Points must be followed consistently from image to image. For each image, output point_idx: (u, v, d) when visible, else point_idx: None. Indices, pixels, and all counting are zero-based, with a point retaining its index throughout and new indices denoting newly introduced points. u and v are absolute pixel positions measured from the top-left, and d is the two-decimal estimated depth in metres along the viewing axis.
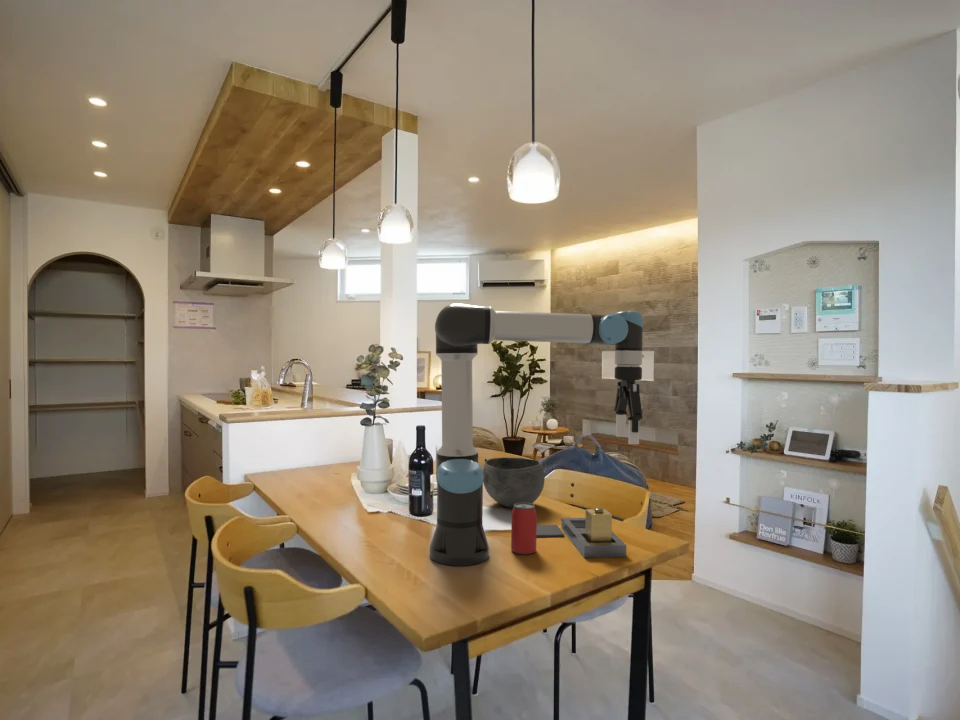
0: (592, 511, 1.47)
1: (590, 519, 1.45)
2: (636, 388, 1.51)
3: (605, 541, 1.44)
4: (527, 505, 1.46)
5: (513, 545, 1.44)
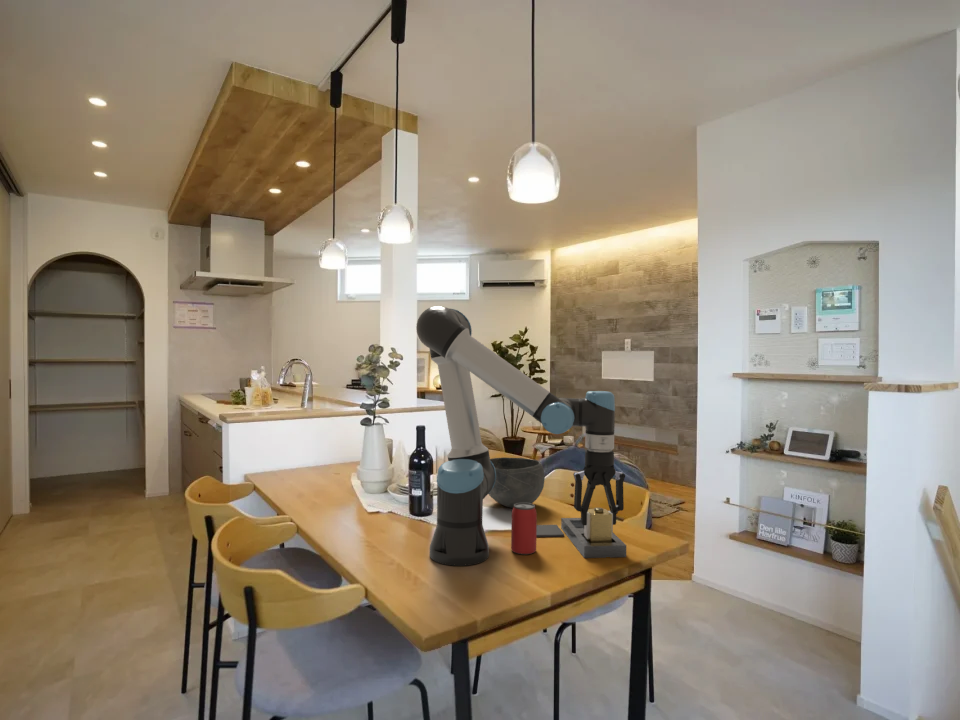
0: (592, 511, 1.47)
1: (590, 519, 1.45)
2: (575, 478, 1.46)
3: (605, 541, 1.44)
4: (527, 505, 1.46)
5: (513, 545, 1.44)
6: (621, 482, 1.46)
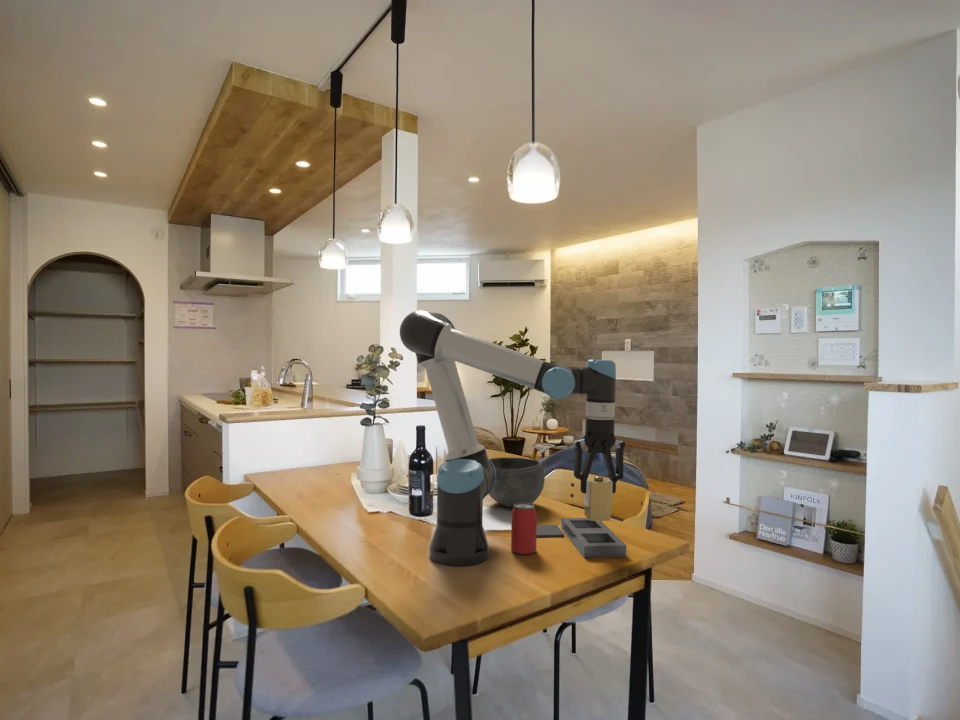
0: (592, 479, 1.47)
1: (590, 487, 1.45)
2: (576, 446, 1.46)
3: (605, 509, 1.44)
4: (527, 505, 1.46)
5: (513, 545, 1.44)
6: (621, 450, 1.46)
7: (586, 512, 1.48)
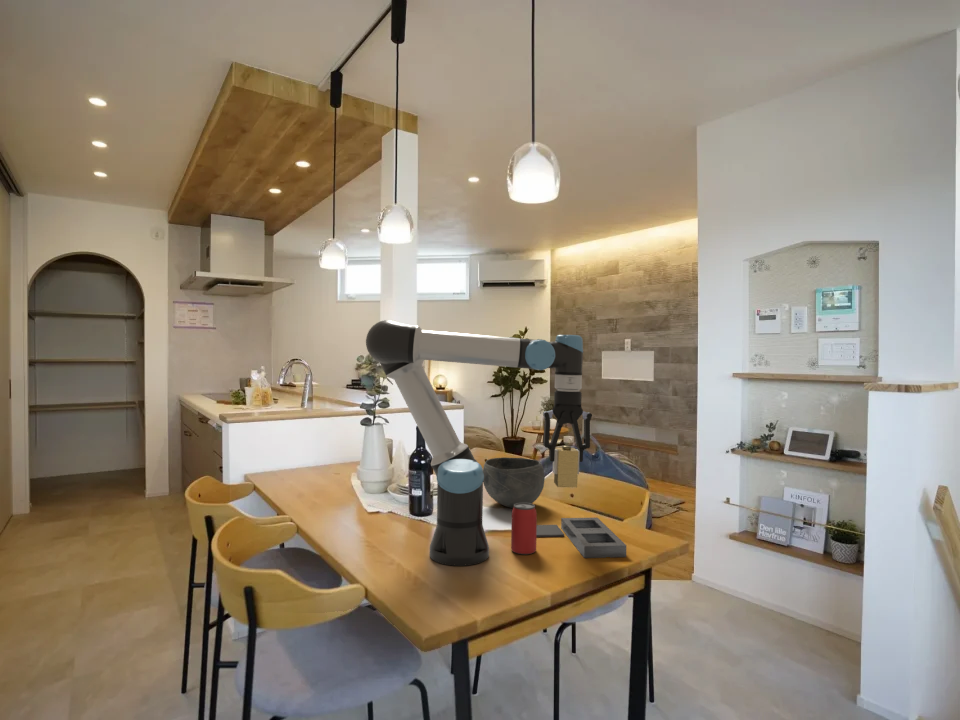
0: (560, 448, 1.55)
1: None
2: (544, 416, 1.54)
3: (571, 476, 1.52)
4: (527, 505, 1.46)
5: (513, 545, 1.44)
6: (588, 421, 1.54)
7: (555, 480, 1.56)
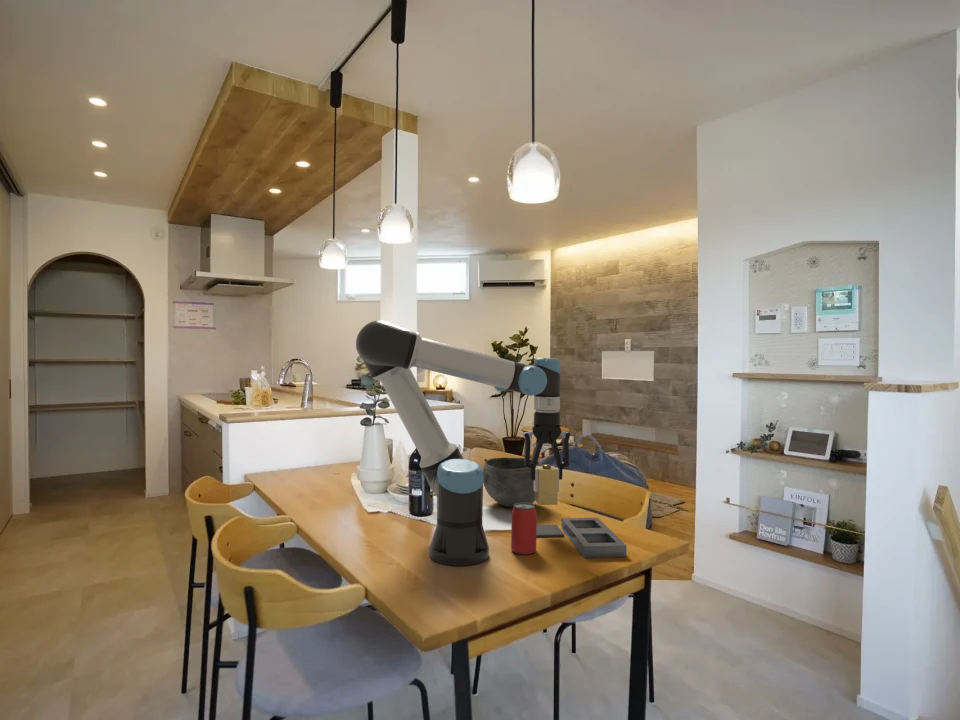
0: (540, 467, 1.61)
1: (538, 474, 1.59)
2: (525, 437, 1.59)
3: (552, 494, 1.58)
4: (527, 505, 1.46)
5: (513, 545, 1.44)
6: (566, 440, 1.60)
7: (536, 497, 1.62)
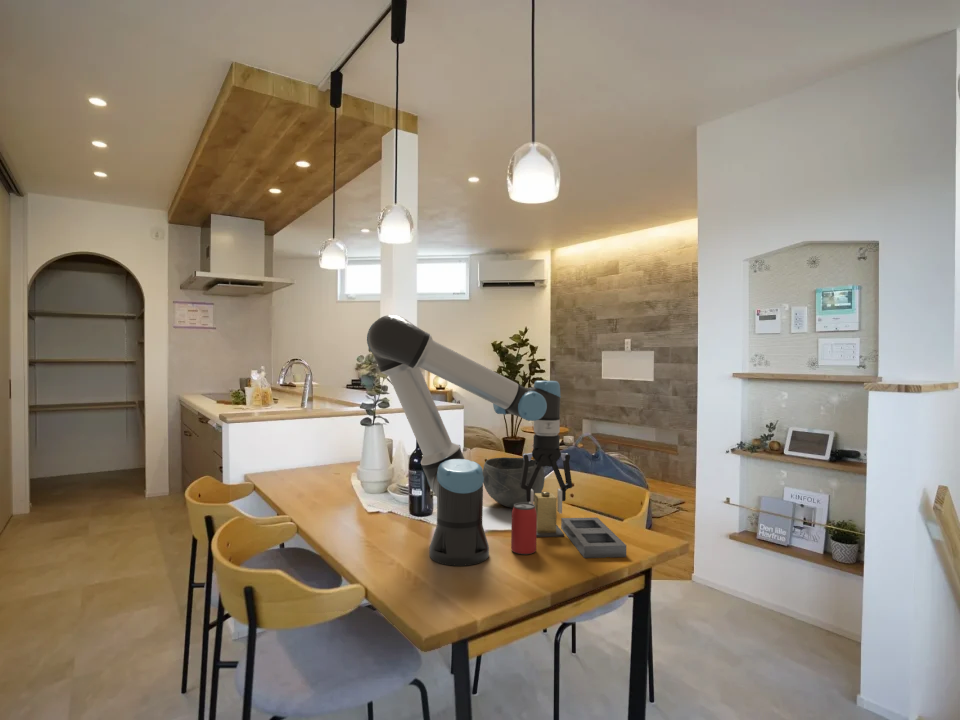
0: (539, 495, 1.61)
1: (537, 502, 1.59)
2: (523, 458, 1.59)
3: (550, 522, 1.58)
4: (527, 505, 1.46)
5: (513, 545, 1.44)
6: (567, 462, 1.60)
7: None
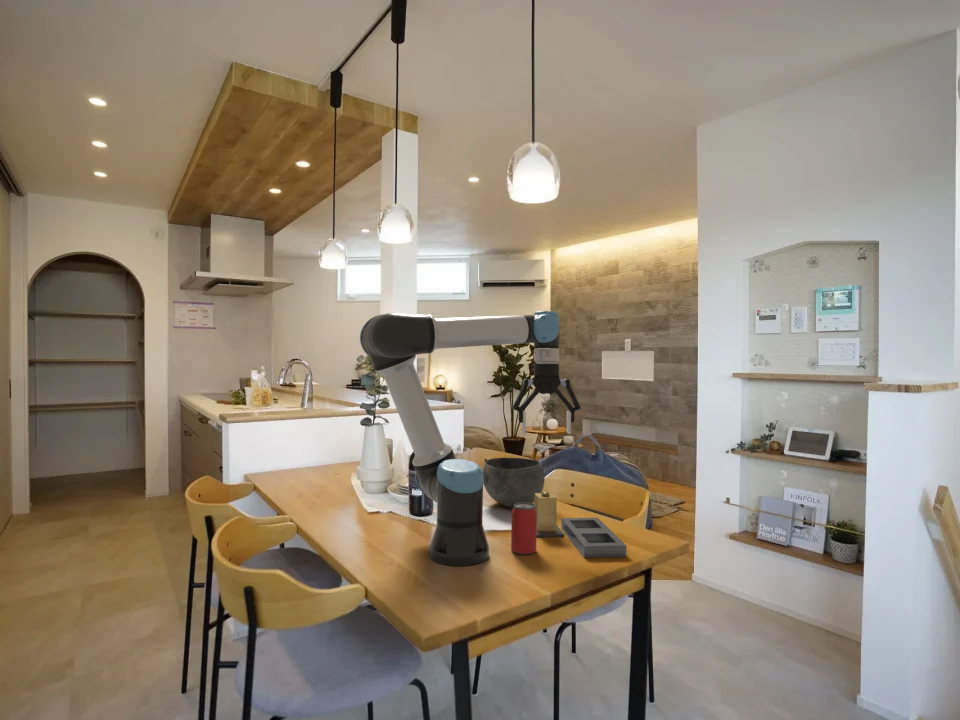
0: (539, 495, 1.61)
1: (537, 502, 1.59)
2: (524, 382, 1.66)
3: (550, 522, 1.58)
4: (527, 505, 1.46)
5: (513, 545, 1.44)
6: (569, 386, 1.66)
7: None
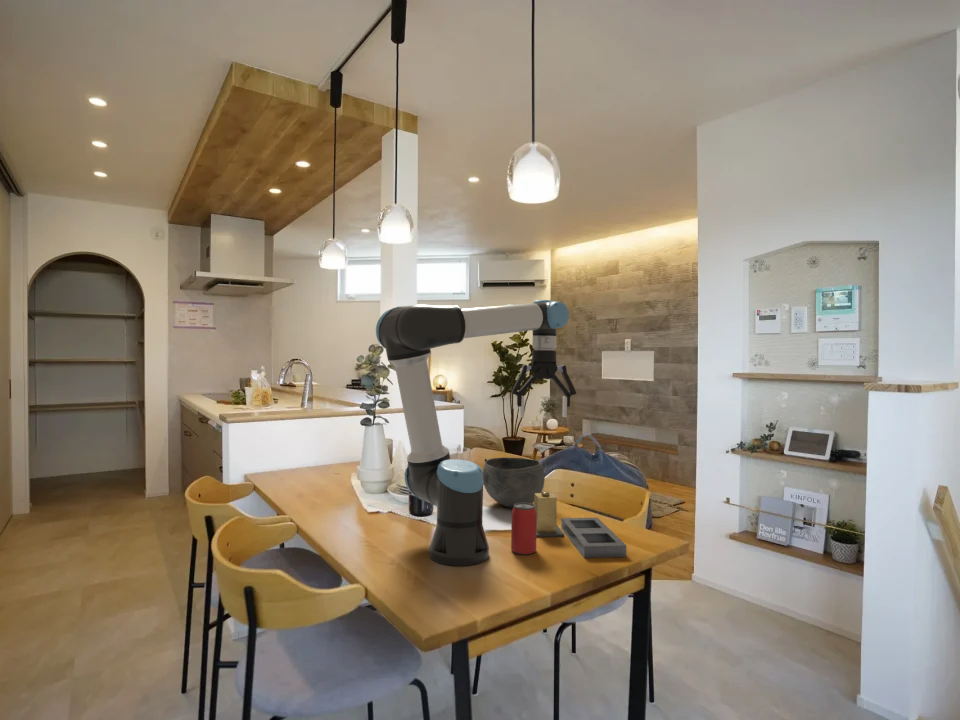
0: (539, 495, 1.61)
1: (537, 502, 1.59)
2: (522, 368, 1.73)
3: (550, 522, 1.58)
4: (527, 505, 1.46)
5: (513, 545, 1.44)
6: (565, 372, 1.74)
7: None
